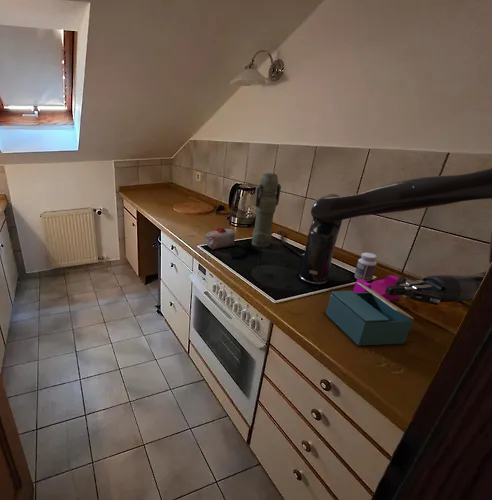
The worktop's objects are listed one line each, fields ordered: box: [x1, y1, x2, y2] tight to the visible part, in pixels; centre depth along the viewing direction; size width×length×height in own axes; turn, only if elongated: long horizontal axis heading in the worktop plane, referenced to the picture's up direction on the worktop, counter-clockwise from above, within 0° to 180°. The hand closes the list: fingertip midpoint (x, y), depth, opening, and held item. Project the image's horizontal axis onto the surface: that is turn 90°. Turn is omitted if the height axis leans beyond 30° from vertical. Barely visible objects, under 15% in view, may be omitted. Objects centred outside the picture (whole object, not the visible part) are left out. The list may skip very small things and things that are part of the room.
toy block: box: [352, 274, 400, 301], centre depth 102 cm, size 15×6×8 cm, turn 101°
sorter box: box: [325, 290, 414, 346], centre depth 87 cm, size 15×13×8 cm
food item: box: [204, 226, 236, 250], centre depth 148 cm, size 14×8×10 cm, turn 109°
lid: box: [357, 282, 415, 320], centre depth 85 cm, size 15×6×1 cm, turn 2°
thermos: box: [251, 172, 282, 249], centre depth 144 cm, size 9×12×35 cm
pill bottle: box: [353, 252, 378, 282], centre depth 114 cm, size 6×6×10 cm
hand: (387, 290), depth 84 cm, fingers closed
